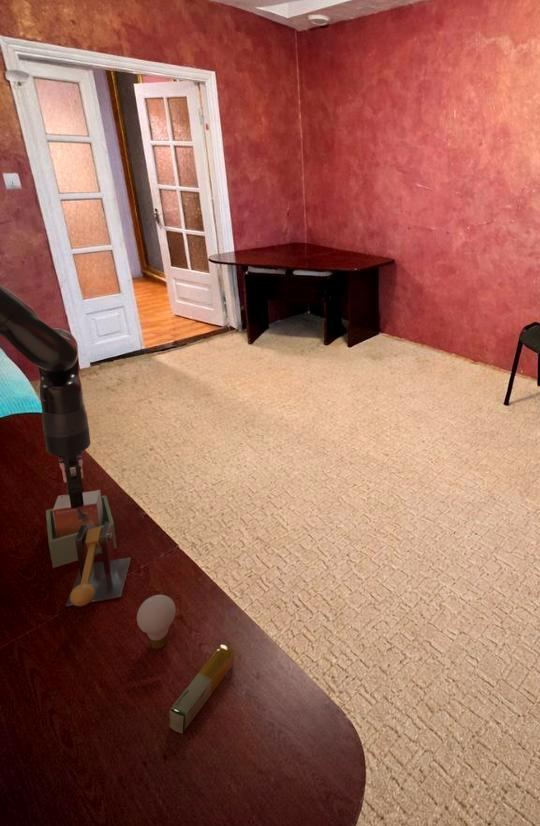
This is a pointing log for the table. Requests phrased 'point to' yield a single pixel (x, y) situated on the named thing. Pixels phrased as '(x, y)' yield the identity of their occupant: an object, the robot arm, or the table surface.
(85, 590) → the tap lever
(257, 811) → the table surface
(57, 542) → the grey-green open bin
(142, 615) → the light bulb
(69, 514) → the small box
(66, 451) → the robot arm
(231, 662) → the medication box
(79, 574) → the grey metal angular piece
